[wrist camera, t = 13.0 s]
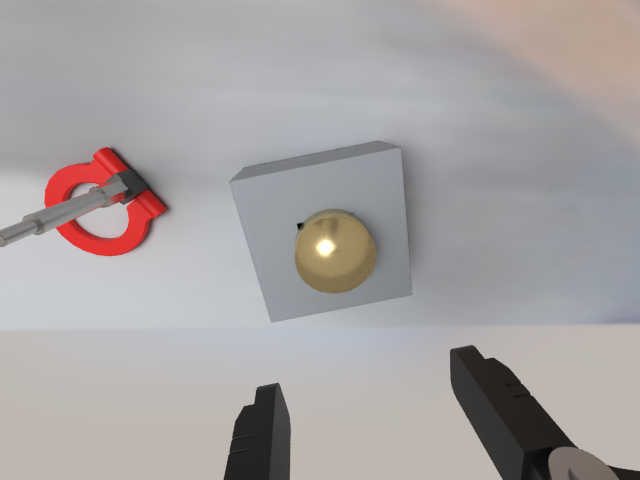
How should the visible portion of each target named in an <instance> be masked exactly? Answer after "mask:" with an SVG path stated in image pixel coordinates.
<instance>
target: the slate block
mask: <svg viewBox="0 0 640 480" xmlns="http://www.w3.org/2000/svg"><path fill="white" fill-rule="evenodd" d="M229 184H230V188H231V191H232V194H233V198H234V201H235V204H236V208H237V211H238V214H239V217H240V221H241V224H242V227H243V231H244V234H245V237H246V241H247V244H248V247H249V250H250V254H251V257H252V260H253V264H254V267H255V270H256V274H257V277H258V280H259V283H260V287H261V290H262V293H263V297H264V300H265V303H266V307H267V310H268V313H269V316H270V320H271V323H272V322H278V321H283V320H288V319H293V318H298V317H303V316H308V315H313V314H318V313H323V312H328V311H333V310H338V309H343V308H348V307H353V306H358V305H363V304H368V303H373V302H378V301H383V300H388V299H393V298H398V297H403V296H408V295H412V283H411V271H410V258H409V245H408V233H407V220H406V207H405V195H404V182H403V169H402V157H401V147H397V146H394V145H390V144H387V143H383V142H380V141H374V142H369V143H364V144H359V145H354V146H349V147H344V148H339V149H334V150H329V151H324V152H319V153H314V154H309V155H304V156H299V157H294V158H289V159H284V160H279V161H274V162H269V163H264V164H259V165H254V166H249V167H245V168H243V169H242V170H241V171H240V172H239V173H238V174H237V175H236V176H235V177H234V178H232V179H231V180H230V181H229ZM325 209H341V210H345V211H348V212H350V213H352V214H354V215H355V216H356V217H358V218H359V219H360V220H361V222H362V223H363V224H364V226H365V228H366V229H367V231H368V232H369V234H370V236H371V237H372V239H373V241H374V244H375V247H376V262H375V266H374V268H373V270H372V272H371V274H370V275H369V277H368V278H367V279H366V280H365V281H364V282H363V283H362V284H361V285H359V286H358V287H356V288H354V289H352V290H350V291H347V292H343V293H337V294H330V293H324V292H320V291H317V290H315V289H313V288H311V287H310V286H309V285H307V284H306V283H305V282H304V281H303V280H302V278H301V277H300V275H299V273H298V271H297V269H296V264H295V239H296V235H297V232H298V230H299V228H300V226H301V225H302V222H304V221H305V220H306V219H307V218H308V217H310V216H311V215H313V214H315V213H316V212H319V211H322V210H325Z"/></svg>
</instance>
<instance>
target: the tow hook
mask: <svg viewBox="0 0 640 480" xmlns="http://www.w3.org/2000/svg"><path fill="white" fill-rule="evenodd" d="M93 158H94V159H95V160H93V161H92V162H91V163H83V164H76V165H71V166H67V167H65V168H63V169H61V170H59V171H57V172H56V173H55V174H54V175H53V177H52V178H51V179H50V180H49V182H48V185H47V187H46V189H45V206H46V209H43V210H40V211H38V212H35V213H32V214H29V215H27V216H25V217H24V218H23V220H22V222H20V223H17V224H15V225H12V226H10V227H7V228H4V229H2V230H0V247H4V246H6V245H9V244H11V243H13V242H15V241H18V240H20V239H22V238H24V237H27V236H29V235H31V234H34V235H40V234H43V233H45V232H47V231H49V230H52V229H54V228H56V229H57V230H58V231H59V233H60V234H61V235H62V236H63V237H64V238H65V239H67V240H68V241H69V242H70V243H72V244H73V245H75V246H77V247H78V248H80V249H82V250H84V251H86V252H90V253H93V254H96V255H103V256H115V255H122V254H124V253H126V252H129V251H131V250H132V249H134V248H135V247H136V246H137V245H138V244H140V243H141V242H142V241H143V239H144V238H145V236H146V234H147V232H148V228H149V223H150V220H151V219H152V218H156V217H158V216H159V215H160V214H162V213H163V212H164V211H165V210H166V209H167V208H166V207H165V206H164V205H163V204H162V203H161V202H160V201H159V200H158V199H157V198H156V197H155V196H154V195H153V194H152V193H151V192H150V191H149V190H148V187H147V186H146V185H145V184H144V183H143V182H142V180H141V179H140V178H139V177H138V176H137V175H136V174H135V173H134V172H133V171H132V170H131V169H128V168H127V167H126V165H125V164H124V163H123V162H122V161H121V160H120V159H119V158H118V157H117V156H116V155H115V154H114V153H113V152H112V151H111V150H110V149H109V148H108V147H105V148H103V149H100V150H99V151H97V152H96V153H95V154H94V155H93ZM84 182H90V183H97V184H100V185H99V186H96V187H93V188H91V189H90V190H89V193H86V194H83V195H81V196H78V197H75V198H73V199H70V200H69V195H70V193H71V191H72V189H73V188H74V187H75V186H76V185H78V184H80V183H84ZM134 199H135V200H134ZM132 200H134V201H133V202H132V203H130V204H129V205H128V206H127V211H128V216H129V223H128V228H127V230H126V231H125V233H124V234H123V235H122V236H120V237H118V238H113V239H105V238H99V237H96V236H93V235H91V234H90V233H88V232H86V231H85V230H84V229H82V228H81V227H80V226H79V225H78V224H77V223H76V221H75V220H74V219H76V218H78V217H80V216H82V215H84V214H86V213H89V212H91V211H93V210H95V209H97V208H104V207H109V206H111V205H114V204H116V203H118V202H120V203H121V204H123V205H124V204H126V203H128V202H130V201H132Z"/></svg>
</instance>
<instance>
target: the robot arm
mask: <svg viewBox="0 0 640 480" xmlns="http://www.w3.org/2000/svg"><path fill="white" fill-rule="evenodd" d="M450 373H451V384H452V388H453V391H454V394H455V396H456V398H457V400H458V402H459V404H460V405H461V407H462V409H463V410H464V412H465V414H466V416H467V418H468V419H469V421H470V423H471V425H472V426H473V428H474V430H475V432H476V433H477V435H478V437H479V439H480V441H481V442H482V444H483V446H484V448H485V449H486V451H487V453H488V455H489V456H490V458H491V460H492V461H493V463H494V465H495V467H496V468H497V470H498V472H499V474H500V476H501V477H502V479H503V480H640V471H634V470H627V469H621V468H615V467H612V466H609V465H606V464H605V463H604V462H603V461H601V460H600V459H599V458H597V457H595V456H594V455H592V454H590V453H588V452H586V451H584V450H581V449H579V448H578V447H576V446H575V445H574V444H573V443H572V442H571V441H570V439H569V438H568V437H567V436H566V435H565V433H564V432H563V431H562V430H561V429H560V428H559V426H558V425H557V424H556V423H555V422H554V421H553V419H552V418H551V417H550V416H549V415H548V413H547V412H546V411H545V410H544V409H543V408H542V406H541V405H540V404H539V403H538V402H537V400H536V399H535V398H534V397H533V396H531V395H530V392H529V391H528V390H527V389H526V387H525V386H524V385H523V384H521V382H520V380H519V379H518V378H517V377H516V376H515V375H514V373H513V372H512V371H511V370H510V369H509V368H508V367H507V366H505V365H504V364H502V363H501V362H499V361H498V360H496V359H495V358H489V359H484V358H483V356H482V355H481V354H480V353H479V351H478V350H477V349H476V347H474V346H473V345H470V346H465V347H460V348H455V349H451V350H450ZM290 428H291V427H290V418H289V413H288V409H287V406H286V403H285V400H284V397H283V394H282V390H281V387H280V385H279V383H275V384H270V385H265V386H259V387H257V390H256V396H255V403H254V404H253V405H248V406H244V407H243V409H242V411H241V413H240V414H239V416H238V418H237V420H236V421H235V426H234V431H233V436H232V439H233V440H232V442H231V446H230V454H229V456H228V461H227V466H226V471H225V476H224V480H290V436H291V429H290Z"/></svg>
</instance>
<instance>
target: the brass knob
mask: <svg viewBox="0 0 640 480" xmlns="http://www.w3.org/2000/svg"><path fill="white" fill-rule="evenodd" d="M375 262H376V247H375V244H374V241H373V239H372V237H371V236H370V234H369V232H368V231H367V229H366V228H365V226H364V224H363V223H362V222H361V220H360V219H359V218H358V217H356V216H355V215H354V214H352V213H350V212H348V211H345V210H341V209H325V210H322V211H319V212H316V213H315V214H313V215H311V216H310V217H308V218H307V219H306V220H305V221H304V222H303V224H302V225H301V226H300V228H299V230H298V232H297V235H296V239H295V264H296V269H297V271H298V273H299V275H300V277H301V278H302V280H303V281H304V282H305V283H306V284H307V285H309V286H310V287H311V288H313V289H315V290H317V291H320V292H324V293H330V294H337V293H343V292H347V291H350V290H352V289H354V288H356V287H358V286H359V285H361V284H362V283H363V282H364V281H365V280H366V279H367V278H368V277H369V275H370V274H371V272H372V270H373V268H374V266H375Z"/></svg>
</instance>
